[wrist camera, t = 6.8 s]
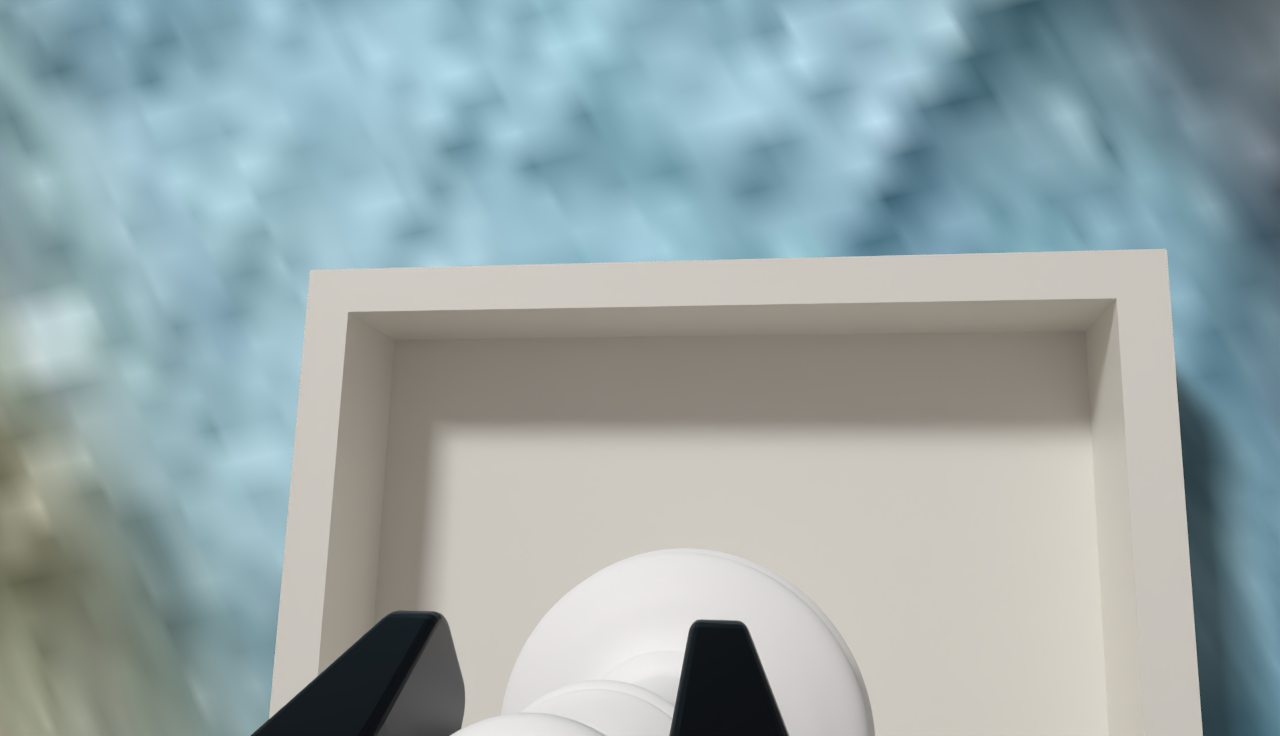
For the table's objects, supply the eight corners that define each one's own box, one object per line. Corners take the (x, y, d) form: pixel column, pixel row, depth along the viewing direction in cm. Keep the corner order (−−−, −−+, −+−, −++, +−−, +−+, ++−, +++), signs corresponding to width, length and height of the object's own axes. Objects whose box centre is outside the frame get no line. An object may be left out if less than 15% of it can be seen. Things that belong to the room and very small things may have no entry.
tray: (1176, 1187, 17) (1245, 1304, 15) (314, 1092, 20) (227, 1176, 17) (1118, 299, 20) (1166, 248, 18) (376, 312, 23) (310, 270, 20)
